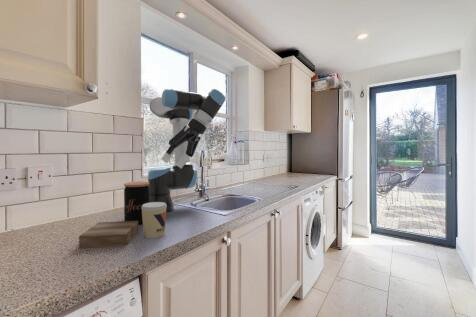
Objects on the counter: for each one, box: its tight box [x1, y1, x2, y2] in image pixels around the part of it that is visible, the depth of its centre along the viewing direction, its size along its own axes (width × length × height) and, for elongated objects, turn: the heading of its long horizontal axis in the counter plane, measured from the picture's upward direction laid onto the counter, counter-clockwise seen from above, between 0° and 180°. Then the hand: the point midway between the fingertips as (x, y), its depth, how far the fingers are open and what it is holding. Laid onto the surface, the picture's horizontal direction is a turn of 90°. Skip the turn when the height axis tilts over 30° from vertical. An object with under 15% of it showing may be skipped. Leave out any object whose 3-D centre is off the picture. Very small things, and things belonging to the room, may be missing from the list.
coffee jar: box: [123, 181, 150, 226], centre depth 105 cm, size 11×11×18 cm
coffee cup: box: [141, 202, 167, 239], centre depth 90 cm, size 9×9×12 cm
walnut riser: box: [78, 220, 139, 249], centre depth 86 cm, size 15×15×4 cm
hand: (172, 164), depth 96 cm, fingers open, 13 cm apart
